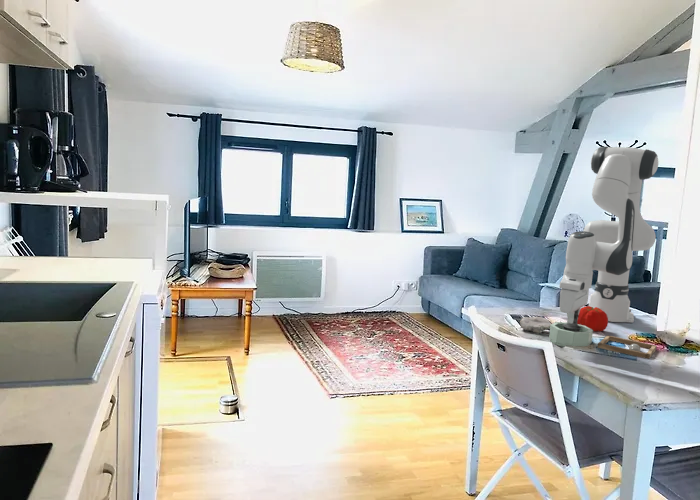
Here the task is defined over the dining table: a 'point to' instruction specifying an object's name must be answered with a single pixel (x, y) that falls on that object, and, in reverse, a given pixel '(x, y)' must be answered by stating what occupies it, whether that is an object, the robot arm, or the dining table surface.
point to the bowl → (570, 335)
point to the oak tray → (647, 355)
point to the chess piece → (573, 324)
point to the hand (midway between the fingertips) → (572, 321)
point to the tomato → (593, 318)
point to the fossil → (535, 324)
